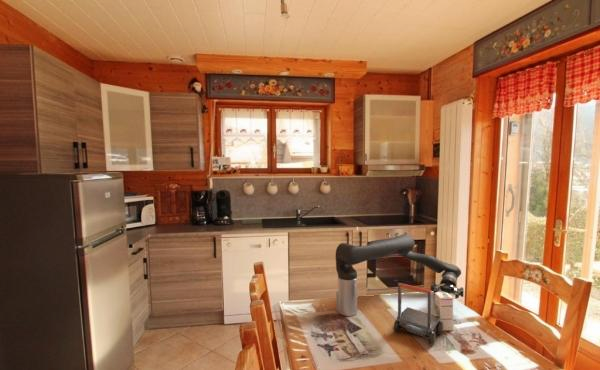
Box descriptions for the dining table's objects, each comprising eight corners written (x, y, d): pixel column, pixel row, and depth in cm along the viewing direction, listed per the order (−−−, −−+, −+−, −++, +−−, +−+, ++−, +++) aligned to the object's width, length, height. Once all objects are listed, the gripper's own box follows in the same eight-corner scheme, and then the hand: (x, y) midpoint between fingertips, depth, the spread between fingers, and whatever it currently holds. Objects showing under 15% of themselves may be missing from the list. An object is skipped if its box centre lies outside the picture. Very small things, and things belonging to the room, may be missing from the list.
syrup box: (453, 330, 126) (454, 297, 126) (439, 330, 127) (439, 297, 126) (447, 323, 132) (447, 292, 131) (434, 323, 132) (434, 291, 132)
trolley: (393, 333, 124) (393, 283, 123) (407, 320, 136) (407, 274, 135) (431, 347, 114) (432, 293, 113) (443, 331, 126) (443, 282, 125)
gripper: (433, 274, 156) (429, 283, 142) (464, 278, 148) (463, 289, 134) (433, 288, 156) (429, 299, 142) (464, 293, 148) (463, 306, 135)
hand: (445, 294), depth 138 cm, fingers open, 8 cm apart
